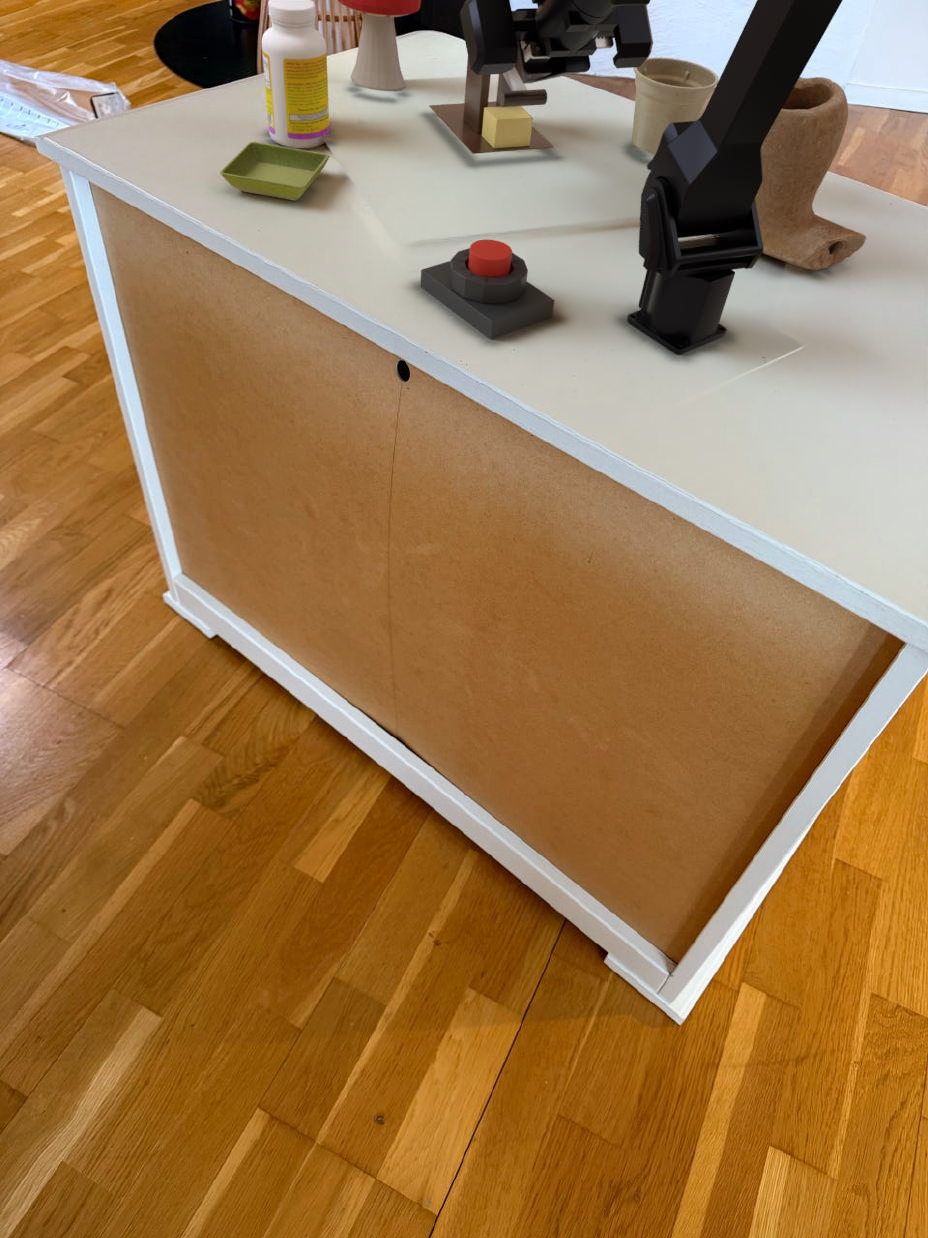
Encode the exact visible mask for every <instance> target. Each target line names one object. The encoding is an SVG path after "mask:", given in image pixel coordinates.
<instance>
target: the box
mask: <svg viewBox="0 0 928 1238" xmlns="http://www.w3.org/2000/svg"><path fill="white" fill-rule="evenodd" d="M469 252H470V247H467V248H465V249H461V250H459V251H457V252H456V254H455V255H454V256H453V257H452V258H451V259H450V260H449V261H446V262H441V263H439V264H436V265H432V266H429V267H426V268H422V269H421V271H420V288H421V289H422V290H424V291H425V292H426V293H428V294H429V295H431V296H432V297H433V298H434V299H436V300H437V301H439V302H440V304H443V305H444V306H445V307H446V308H447V309H449V310H451V311H452V313H454V314H456V315H457V316H458V317H460V318H461V319H462V320H464V321H465V322H466V323H468V325H471V326H472V327H473V328H474V329H476V330H477V331H479V332H480V333H481V334H482V335H484V336H485V337H486V338H487V339H489V340H493V339H496V338H498V337H499V338H500V337H501V336H504V335H507V334H510V333H512V332H515V331H518V330H521V329H524V328H527V327H530V326H532V325H535V324H537V323H540V322H543V321H546V320H549V319H551V318H552V317H553V312H554V306H555V301H556V300H555V299H554V298H552V297H550V296H549V295H548V294H546V293H545V292H543V291H542V290H540V289H539V288H537V287H536V286H535V285H533V284H531V283H530V282H529V281H528V280H527V279H528V274H529V270H528V269H529V268H528V267H527V264H526V262H525V260H524V259H523V258H522V257H520V256H518V255H516V254H515V253H514V252H512V257H511V265H510V272H509V274H508V275H505V276H502V277H499V278H498V277H484V276H480V275H477V274H474V273H472V272H471V271H470V270H469V269H468V264H469Z"/></svg>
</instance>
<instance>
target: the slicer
mask: <svg viewBox="0 0 928 1238" xmlns="http://www.w3.org/2000/svg"><path fill="white" fill-rule="evenodd" d="M466 63H467V64H466V65H467V66H466V74H465V75H466V76H465V89H464V102H463V103H446V104H431V105H430V104H429V105H428V107H429V108H430V109H431V110H432V112H433V113H435V114H436V115H437V116H438V117H439V119H440V120H441V121H442V122H443V124H445V126H446V127H448V128H449V130H450V131H451V132H452V133H453V134H454V135H455V136H456V137H457V139H458V140H460V142H461V143H462V144H463V145H464V146H465V147H466V148H467V149H468V150H469V152H471V153H472V154H473V155H474V154H489V153H499V152H511V151H512V152H513V151H514V152H515V151H525V150H540V149H550V148H551V149H552V148H555V146H554V145H553V144H552V143H551V142H550V141H549V140H547V138H545V137H544V136H543V135H542V134H541V133H540V132H539V131H538V129H536V128H535V127H534V126H532V130H531V138H530V145H529V146H521V147H508V148H495V149H494V148H493V147H492V146H491V145H490V144H489V143H488V142H487V141H486V140H485V139H484V138H483V137H482V127H483V116H484V108H485V107H500V103H499V95H500V93H501V92H502V91H511V89H510V87H509V85H508V83H507V81H506V79H505V77H504V75H503V74H498V77H497V79H498V80H497V89H496V97H495V98H496V100H495V101H489V98H490V97H489V95H490V86H491V77H492V76H491V75H477V74H475V73H474V72H473V71H472V70H471V68H470V63H469V58H468V57H467V62H466ZM515 68H516V70H517V72H518V74H519V76H520V78H521V80H522V75H521V71H522V67H521V62H520V57H519V52H518V56H517V63H516V65H515ZM522 82H523V80H522Z"/></svg>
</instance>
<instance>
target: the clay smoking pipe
mask: <svg viewBox="0 0 928 1238" xmlns="http://www.w3.org/2000/svg"><path fill="white" fill-rule="evenodd" d="M848 117H849V106H848V99H847V96H846V93H845V90H843V88H842V86H840V84H839V83H837V82H835V81H833V80H832V79H830V78H827V77H822V76H821V77H818V76H817V77H816V76H815V77H809V78H806V77H802V76H800V77H799V79H798V81H797V83H796V84H795V86H794V88H793V90H792V92H791V93H790V95H789V97H788V99H787V100H786V102H785V104H784V106H783V108H782V109H781V111H780V113H779V115H778V116H777V118H776V120H775V122H774V124H773V125H772V127H771V129H770V131H769V133H768V134H767V136H766V138H765V140H764V142H763V144H762V164H763V181H762V183H761V186H760V188H759V190H758V193H757V195H756V197H755V201H756V207H757V213H758V219H759V225H760V231H761V236H762V242H763V253H762V254H764V255H766V256H769V257H772V258H774V259H778V260H780V261H783V262H785V263H788V264H791V265H794V266H797V267H800V268H802V269H806V270H807V269H808V270H818V271H819V270H824V269H827V268H829V267H832V266H834V265H836V264H839V263H841V262H843V261H844V260H845V259H847V258H850V257H852V255H854V254H855V253H856V252H858V251H859V250H860V249H861V248H862V247H863V246H864V245H865V242H866V240H867V236H866V235H865V234H864V233H861V232H857V231H855V230H852V229H849V228H847V227H845V226H843V225H840V224H838V223H835V222H833V221H832V220H829V219H827V218H824V217H822V216H819V215H818V214H815V211H814V209H813V203H814V199H815V196H816V194H817V192H818V190H819V188H820V186H821V184H822V182H823V181H824V178H825V177H826V175H827V173H828V172H829V170H830V168H831V166H832V164H833V162H834V159H835V158H836V156H837V153H838V151H839V149H840V146H841V144H842V140H843V138H844V135H845V131H846V128H847V123H848Z"/></svg>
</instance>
